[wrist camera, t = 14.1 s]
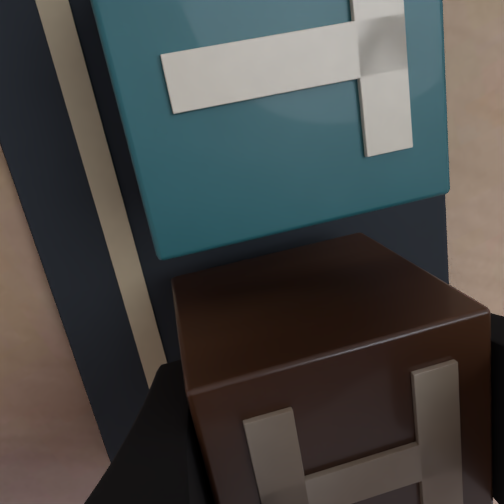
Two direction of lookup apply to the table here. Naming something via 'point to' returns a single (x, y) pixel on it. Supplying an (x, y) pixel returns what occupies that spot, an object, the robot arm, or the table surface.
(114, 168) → the word mat
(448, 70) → the table surface
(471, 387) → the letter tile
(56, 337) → the table surface
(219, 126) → the teal letter tile
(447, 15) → the table surface
